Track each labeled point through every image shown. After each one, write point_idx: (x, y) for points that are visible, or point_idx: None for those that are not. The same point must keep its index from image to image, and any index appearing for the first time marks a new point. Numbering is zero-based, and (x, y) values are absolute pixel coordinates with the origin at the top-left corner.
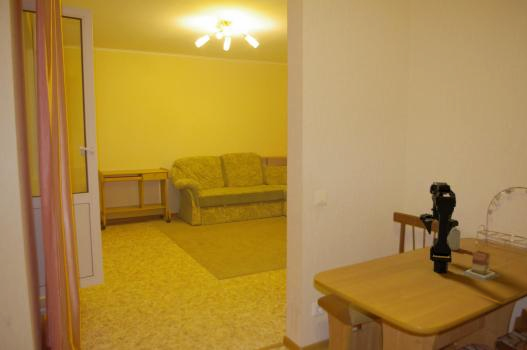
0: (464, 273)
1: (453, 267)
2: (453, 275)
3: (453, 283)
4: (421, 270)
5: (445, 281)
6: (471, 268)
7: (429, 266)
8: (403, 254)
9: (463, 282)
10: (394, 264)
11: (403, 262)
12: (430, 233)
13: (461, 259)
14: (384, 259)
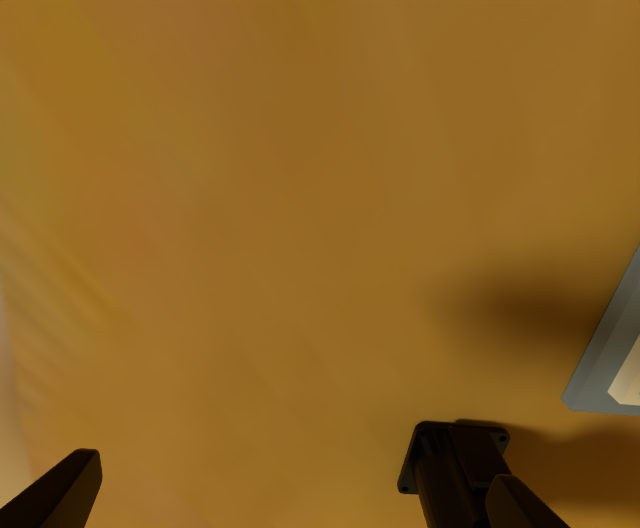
0: (600, 406)
1: (486, 318)
2: (527, 436)
3: None
4: (342, 494)
5: None
6: (636, 287)
7: (342, 417)
8: (35, 349)
9: (600, 476)
10: (171, 524)
11: (178, 471)
12: (90, 477)
13: (485, 49)
14: None
